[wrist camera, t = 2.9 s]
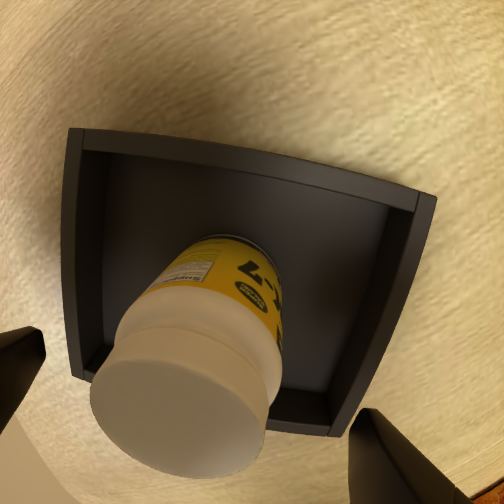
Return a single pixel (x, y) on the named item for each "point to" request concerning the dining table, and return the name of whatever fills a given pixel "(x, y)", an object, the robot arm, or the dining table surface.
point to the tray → (257, 231)
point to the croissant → (492, 496)
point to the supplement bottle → (196, 362)
